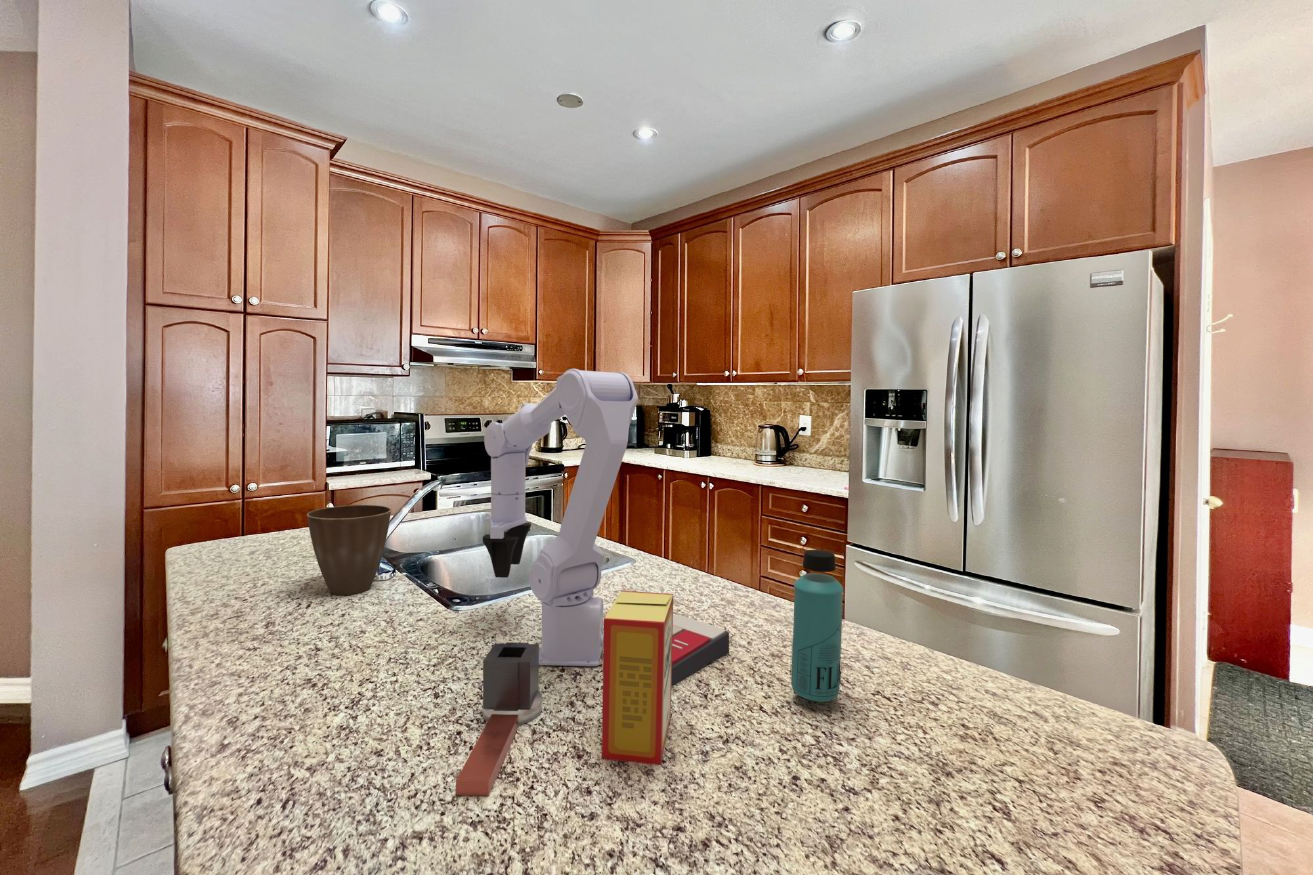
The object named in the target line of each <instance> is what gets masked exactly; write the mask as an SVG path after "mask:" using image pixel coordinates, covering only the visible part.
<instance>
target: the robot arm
mask: <svg viewBox="0 0 1313 875" xmlns="http://www.w3.org/2000/svg"><path fill="white" fill-rule="evenodd" d="M638 402H639V397H638V394H637V390H636V388H635V384H634V382H633V380H632V378H631V376H629V375H628V374H627V373H625V372H622V371H615V372H611V371H610V372H609V371H596V370H595V371H594V370H582V369H581V370H580V369H578V368H570V369H567V370H566V371H564V372H563V374H562V375H560V376H558V377H557V378H556V382H555V388H553V389H552V391H551V392H549V393H548V394H547V395H546V396H545V397H544V398H543V399H542V400H541V401H540V402H538V403H530V402H524V403H523V404H521V405H520V408H519V410H518V411H515V413H513V414H512V415H511V414H510V415H509V416H508V417H507V419H506V420H505V421H503V422H501V423H499V422H497V421H495V422H494V421H492V422H489V425H488V426H487V427H486V428H485V432H484V438H483V439H484V442H483V443H484V447H485V451H486V453H487V455H488V456H490V473H491V474H490V482H491V483H490V492H491V493H490V495H491V496H490V516H489V515H488V516H487V515H486V516H485V517H484V518H483V522H484V523H488V524H490V526H489V530H490V531H489V534H484V535H483V536H482V543H483V545H484V546H485V548H486V549H487V553H488V554H489V558H490V561H491V565H492V568H493V574H494V576H495V578H500V579H501V578H504V579H505V578H506V579H508V578H509V576H510V572H511V568H512V565H517V566H518V565H520V563H521V561H522V556H523V552H524V548H525V546H524V545H525V542H526V538H527V536H528V533H529V531H530V529H531V527H532V523H531V522H527V516H526V466H528V465H529V462H530V460H529V459H530V453H531V451H532V449H533V446H534V445H533V444H535V443H536V442H537V441H538V442H539V441H540V439H542V438H544V437H545V436H546V435H548V434H549V432H550V431H551V429H552V423H553V422H555V421H557V420H559V419H561V418H562V417H564V416H565V417H566V418H567V420H568V422H569V424H570V426H571V427H572V429H573V431H574V432H575V435H577V436H578V437H579V438H582V439H583V440H584V442H585V447H584V450H583V451H582V452H583V453H582V456H581V459H580V462H579V466H578V469H577V472H576V475H575V479H574V483H573V486H572V488H571V492H570V495H569V497H568V502H567V505H566V508H565V512H564V514H563V515H564V516H563V518H562V522H561V524H560V527H559V531H558V535H557V536H556V537H555V538H554V539H551V541H549V542H548V543H547V544H546V545H544V546H543V547H542V548H541V549H540V551H539V555H538V556H537V558H536V559H535V561H534V562H533V563H532V565H531V566H530V567H531V568H530V570H529V579H528V580H529V586H530V588H531V591H532V593H533V595H534V596H535V598H537V600H538V601H540V602H541V642H540V643H541V647H539V666H571V667H572V666H573V667H575V666H576V667H577V666H578V667H598V666H599V664H600V661H601V656H602V652H603V638H604V599H603V598H600V597H594V594H595V593H594V592H595V591H594V590H595V589H597V588H598V586H599V585H600V582H601V579H602V564H603V560H604V554H603V552H602V550H601V548H600V546H598V545H597V543H596V540H597V536H598V533H599V531H600V527H601V526H602V521H603V519H604V515H605V513H606V510H607V507H608V504H609V501H610V497H611V495H612V491H613V489H614V486H615V482H616V479H617V477H618V473H619V471H620V467H621V465H622V463H623V459H624V456H625V453H626V450H627V447H628V443H629V442H628V441H629V432H630V425H631V424H632V419H633V415H634V414H635V413H634V412H635V411H636V407H637V404H638Z"/></svg>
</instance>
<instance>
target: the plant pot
mask: <svg viewBox="0 0 1313 875" xmlns="http://www.w3.org/2000/svg"><path fill="white" fill-rule="evenodd" d="M391 514H392V508H390V507H389V506H384V505H373V504H372V505H371V504H355V505H353V504H352V505H338V506H337V505H336V506H331V507H324V508H319V509H314V510H311V511H309V512H307V513H306V518H307V524H308V529H309V531H308V532H309V535H310V540H311V543H312V547H313V552H314V555H315V558H316V562H317V564H318V567H319V569H320V570H319V571H320V573H321V575H322V576H321V577H322V578H323V580H324V582H325V585H326V587H327V589H328V591H329V593H330V594H332V593H333V595H337V596H339V595H340V596H341V595H342V596H345V595H346V596H347V595H348V596H349V595H355V594H360V593H364V592H366V591H368V590H370V589H371V587H372V585H373V583H374V580H375V578H376V575H377V573H378V569H379V567H380V563H381V560H382V557H383V553H384V550H385V546H386V542H387V537H388V532H389V526H390V520H391Z"/></svg>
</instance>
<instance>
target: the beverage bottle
mask: <svg viewBox="0 0 1313 875" xmlns="http://www.w3.org/2000/svg"><path fill="white" fill-rule="evenodd" d="M802 560H803V561H802V567H803V568H804V569H806V570H808V571H812V572H811V573H804V574H802V575H801V576H800V577H799V578H797V580H795V581H794V584H793V588H794V592H793V594H794V596H793V597H794V598H793V623H792V624H793V628H792V630H793V631H792V641H790V642H791V644H790V645H791V647H790V651H791V659H790V662H791V665H790V672H789V673H790V675H789V676H790V677H789V678H790V679H789V680H790V683H791V688H792V690H793V692H794V693H795V694H796V695H798V696H799V697H800V698H803V699H806V700H809V701H813V702H831V701H834V700H835V699H837V697H839V693H840V692H841V684H842V680H841V679H842V678H841V677H842V671H841V670H842V665H843V664H842V663H841V662H842V650H843V649H842V637H843V635H844V633H843V621H844V615H843V614H844V612H843V593H844V587H843V586H842V584H841V583H840V582H839V581H838V579H836V578H835V577H834V576H831V575H829V574H825V573H830V572H834V571H836V556H835V554H834V553H833V552H831V551H829V550H824V549H809V550H805V551H804V553H803V559H802ZM817 572H819V573H817Z"/></svg>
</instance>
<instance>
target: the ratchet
mask: <svg viewBox="0 0 1313 875" xmlns="http://www.w3.org/2000/svg"><path fill="white" fill-rule="evenodd" d="M542 709H543V694H542V692H541V691H540V689H539V690H538V692H537V694H536V697H535V699H534V702H533V704H532V706H531V709H530V710H518V711H494V709H483V708H482V717H483V719H484V721H485V722H486V724H485V726H484V728H483V730H482V731H481V733H480V735H479V737H478V739H477V741H476V743H475V745H474V746H473V748H472V750H471V752H470V754H469V756H468V758H467V759H466V762H465V763H464V765H463V766H462V769H461V770H460V773H459V774H458V776H457V778H456V780H455V796H467V797H468V796H470V797H473V796H474V797H476V796H478V797H480V796H481V797H489V796H490V793H491V791H492V789H493V787H494V784H495V782H496V780H497V777H498V775H499V773H500V770H501V767H502V765H503V764H504V761H505V758H506V757H507V754H508V752H509V749H510V747H511V745H512V742H513V741H514V738H515V736H516V733H517V731H518V729H519V726H522V725H524V724H527V723H529V722H531V721H533V720H535V719H536V718H537V717H538V716H539V715H540V714H541V712H542Z"/></svg>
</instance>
